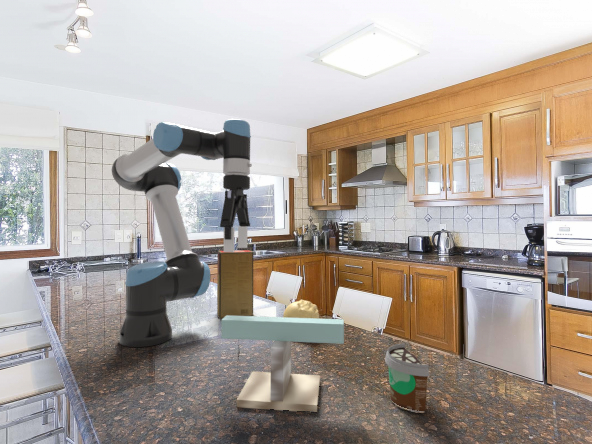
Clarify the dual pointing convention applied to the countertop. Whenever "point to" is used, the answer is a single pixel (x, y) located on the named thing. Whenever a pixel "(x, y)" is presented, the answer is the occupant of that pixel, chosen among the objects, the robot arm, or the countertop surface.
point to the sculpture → (301, 310)
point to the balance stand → (280, 385)
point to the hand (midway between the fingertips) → (236, 249)
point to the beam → (283, 329)
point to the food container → (407, 378)
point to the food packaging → (235, 283)
